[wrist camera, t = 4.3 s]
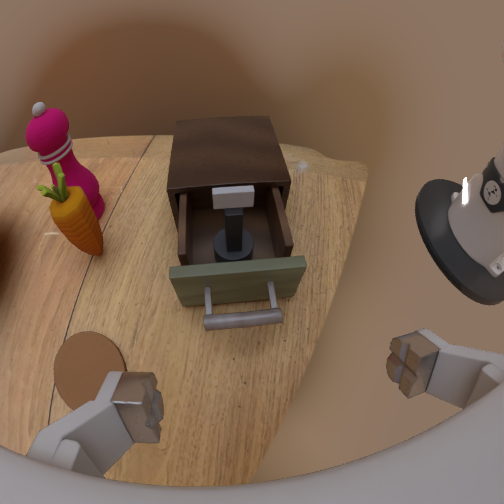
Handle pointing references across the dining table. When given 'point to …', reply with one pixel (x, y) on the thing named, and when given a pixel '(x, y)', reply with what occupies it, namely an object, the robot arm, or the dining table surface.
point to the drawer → (239, 272)
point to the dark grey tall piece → (233, 224)
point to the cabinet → (225, 157)
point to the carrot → (74, 214)
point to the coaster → (85, 367)
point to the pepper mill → (61, 152)
